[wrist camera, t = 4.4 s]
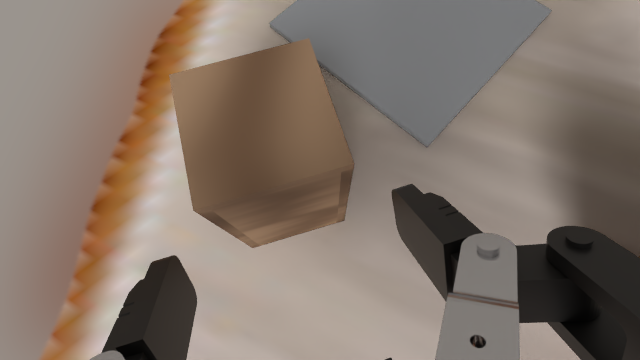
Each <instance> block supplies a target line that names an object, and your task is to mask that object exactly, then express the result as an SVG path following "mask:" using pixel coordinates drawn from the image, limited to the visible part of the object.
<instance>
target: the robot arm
mask: <svg viewBox="0 0 640 360" xmlns="http://www.w3.org/2000/svg"><path fill="white" fill-rule="evenodd" d="M392 199H393V206H394V212H395V219H396V225H397V229H398V232H399V235H400V237H401V239H402V240H403V242H404V243H405V245H406V246H407V248H408V249H409V250H410V252H411V253H412V255H413V256H414V257H415V259H416V260H417V262H418V263H419V264H420V266H421V267H422V269H423V270H424V271H425V273H426V274H427V276H428V277H429V278H430V280H431V281H432V283H433V284H434V285H435V287H436V288H437V290H438V291H439V292H440V294H441V295H442V297H443V298H444V299H445V301H446V306H445V311H444V317H443V322H442V327H441V332H440V337H439V342H438V347H437V353H436V358H435V360H520V343H519V323H535V322H547V323H548V324H549V325H550V326H551V327H552V328H553V329H554V330H555V332H556V333H557V334H558V335H559V336H560V337H561V338H562V339H563V340H564V341H565V342H566V344H567V345H568V346H569V347H570V348H571V349H572V350H573V351H574V352H575V353H576V355H577V356H578V357H579V358H580V359H581V360H640V258H639V257H637V256H636V255H634V254H633V253H631V252H629V251H628V250H626V249H625V248H623V247H622V246H620V245H619V244H617V243H615V242H614V241H612V240H611V239H609V238H608V237H606V236H605V235H603V234H601V233H599V232H597V231H595V230H592V229H588V228H584V227H578V226H564V227H559V228H556V229H554V230H552V231H551V232H549V234H548V236H547V244H536V245H521V246H516V245H514V244H513V243H512V242H511V241H510V240H509V239H507V238H505V237H503V236H500V235H497V234H491V233H483V232H482V231H480V230H479V229H478V228H477V227H476V226H475V225H474V224H472V223H471V222H470V221H469V220H468V219H467V218H466V217H465V216H463V215H462V214H461V213H460V212H458V210H457V209H456V208H454V207H453V206H451V204H450V203H449V202H448V201H446V200H445V199H444V198H443V197H441V196H438V195H436V194H433V193H426V194H423V193H422V192H421V191H420V190H419V189H417V188H416V187H415V186H414V185H413V184H410V185H406V186H403V187H400V188H396V189H393V190H392ZM123 306H124V307H123V308H122V309H121V311H120V313H119V318H117V320H116V322H115V324H114V326H113V329H112V331H111V333H110V335H109V337H108V340H107V342H106V344H105V346H104V348H103V350H102V353H101V354H99V355H97V356H95V357H93V358H91V359H90V360H186V358H187V352H188V347H189V342H190V337H191V332H192V327H193V321H194V316H195V311H196V306H197V296H196V292H195V289H194V286H193V284H192V283H191V281H190V279H189V277H188V275H187V273H186V271H185V269H184V268H183V266H182V264H181V262H180V260H179V259H178V257H177V256H175V255H173V256H170V257H166V258H163V259H160V260H156V261H153V262H152V263H151V264H150V266H149V269H148V271H147V274H146V276H145V278H144V279H143V280H140V281H139V282H138V283H137V284H136V285H135V286H134V288H133V289H132V290H131V291H130V292H129V294H128V296H127V298H126V300H125V302H124V305H123ZM385 360H392V358H388V359H385Z"/></svg>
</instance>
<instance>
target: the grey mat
mask: <svg viewBox="0 0 640 360" xmlns="http://www.w3.org/2000/svg"><path fill="white" fill-rule="evenodd" d="M551 11H552V10H551V9H549V8H547V7H546V6H544V5H542V4H540V3H539V2H537V1H535V0H297V1H296V2H294V3H293V4H292V5H291V6H290V7H288V8H287V9H286V10H285V11H283V12H282V13H281V14H280V15H279V16H277V17H276V18H275V19H274V20H272V21H271V22H270V23H269V24H270V27H271V28H272V29H274V30H275V31H276V32H278V33H279V34H280V35H281V36H283V37H284V38H285V39H287V40H288V41H289V42H291V43H292V42H296V41H300V40H304V39H308V38H309V39H310V42H311V45H312V48H313V50H314V53H315V56H316V59H317V62H318V64H319V65H321V66H322V67H323V68H324V69H326V70H327V71H328V72H330V73H331V74H332V75H334V76H335V77H336V78H337V79H339V80H340V81H341V82H343V83H344V84H345V85H347V86H348V87H349V88H350V89H352V90H353V91H354V92H356V93H357V94H358V95H360V96H361V97H362V98H364V99H365V100H366V101H367V102H369V103H370V104H371V105H373V106H374V107H375V108H377V109H378V110H379V111H380V112H382V113H383V114H384V115H386V116H387V117H388V118H390V119H391V120H392V121H393V122H395V123H396V124H397V125H399V126H400V127H401V128H403V129H404V130H405V131H407V132H408V133H409V134H410V135H412V136H413V137H414V138H416V139H417V140H418V141H420V142H421V143H422V144H423V145H425V146H426V147H428V146H429V145H430V143H431V142H432V141H433V140H434V139H435V138H436V137H437V136H438V135H439V134H440V133H441V131H442V130H443V129H444V128H445V127H446V126H447V125H448V124H449V123H450V122H451V121H452V119H453V118H454V117H455V116H456V115H457V114H458V113H459V112H460V111H461V110H462V109H463V107H464V106H465V105H466V104H467V103H468V102H469V101H470V100H471V99H472V98H473V97H474V95H475V94H476V93H477V92H478V91H479V90H480V89H481V88H482V87H483V86H484V85H485V83H486V82H487V81H488V80H489V79H490V78H491V77H492V76H493V75H494V74H495V73H496V71H497V70H498V69H499V68H500V67H501V66H502V65H503V64H504V63H505V62H506V61H507V59H508V58H509V57H510V56H511V55H512V54H513V53H514V52H515V51H516V50H517V49H518V47H519V46H520V45H521V44H522V43H523V42H524V41H525V40H526V39H527V38H528V37H529V35H530V34H531V33H532V32H533V31H534V30H535V29H536V28H537V27H538V26H539V25H540V23H541V22H542V21H543V20H544V19H545V18H546V17H547V16H548V15H549V14H550V12H551Z"/></svg>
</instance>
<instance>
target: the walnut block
mask: <svg viewBox="0 0 640 360" xmlns="http://www.w3.org/2000/svg"><path fill="white" fill-rule="evenodd" d="M169 76H170V82H171V88H172V93H173V99H174V105H175V110H176V116H177V121H178V127H179V133H180V138H181V144H182V150H183V155H184V161H185V166H186V172H187V178H188V183H189V189H190V195H191V200H192V206H193V211H195V212H196V213H198V214H200V215H201V216H203V217H204V218H206V219H208V220H209V221H211V222H212V223H214V224H215V225H217V226H219V227H220V228H222V229H223V230H225V231H227V232H228V233H230V234H231V235H233V236H234V237H236V238H238V239H239V240H241V241H242V242H244V243H246V244H247V245H249V246H250V247H252V248H254V247H258V246H261V245H264V244H268V243H271V242H274V241H278V240H281V239H284V238H287V237H291V236H294V235H297V234H301V233H304V232H307V231H311V230H314V229H317V228H321V227H324V226H327V225H330V224H334V223H337V222H340V221H344V218H345V213H346V207H347V201H348V196H349V190H350V185H351V179H352V174H353V168H354V162H353V159H352V156H351V153H350V150H349V148H348V145H347V142H346V139H345V137H344V134H343V131H342V128H341V125H340V123H339V120H338V117H337V114H336V112H335V109H334V106H333V103H332V100H331V98H330V95H329V92H328V89H327V87H326V84H325V81H324V78H323V75H322V73H321V70H320V67H319V64H318V62H317V59H316V56H315V53H314V50H313V48H312V45H311V42H310V39H309V38H308V39H304V40H300V41H296V42H292V43H289V44H285V45H281V46H277V47H273V48H270V49H266V50H262V51H258V52H254V53H251V54H247V55H243V56H239V57H235V58H231V59H228V60H224V61H220V62H216V63H212V64H209V65H205V66H201V67H197V68H193V69H189V70H186V71H182V72H178V73H174V74H170V75H169Z"/></svg>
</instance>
